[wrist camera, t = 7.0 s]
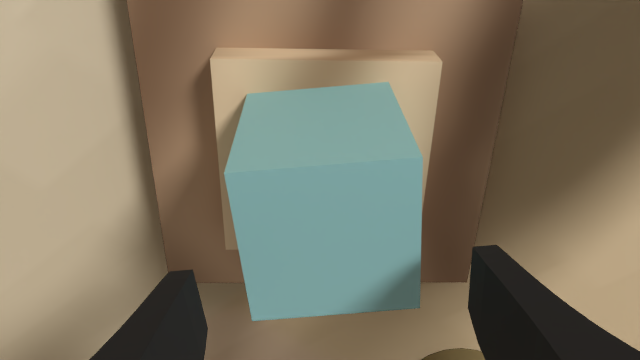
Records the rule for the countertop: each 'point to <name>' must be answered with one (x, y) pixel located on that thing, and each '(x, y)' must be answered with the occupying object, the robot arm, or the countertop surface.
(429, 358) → the salt shaker
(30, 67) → the countertop surface
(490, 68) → the walnut stand
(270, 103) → the teal block
